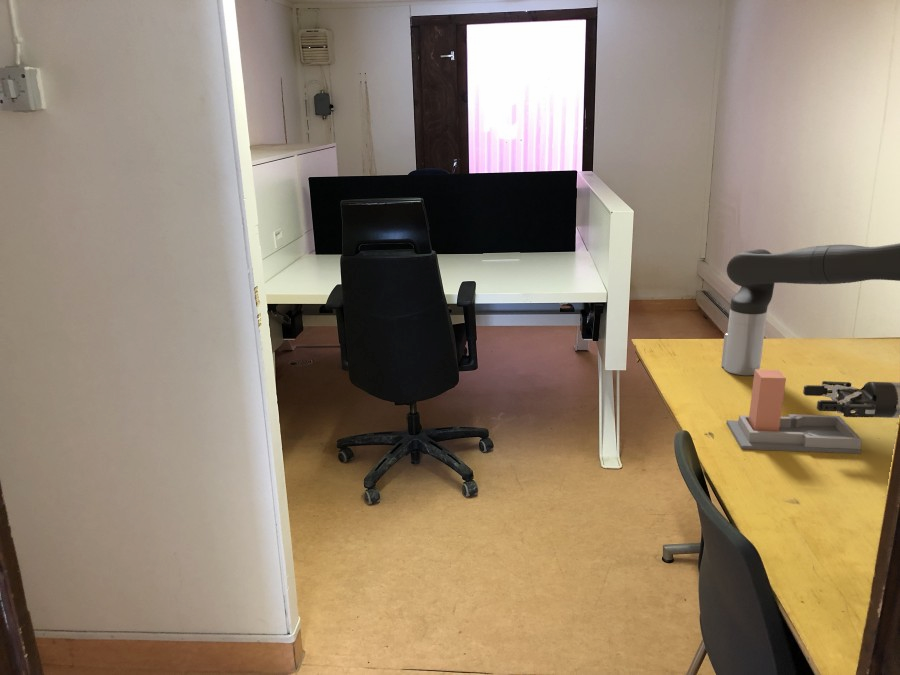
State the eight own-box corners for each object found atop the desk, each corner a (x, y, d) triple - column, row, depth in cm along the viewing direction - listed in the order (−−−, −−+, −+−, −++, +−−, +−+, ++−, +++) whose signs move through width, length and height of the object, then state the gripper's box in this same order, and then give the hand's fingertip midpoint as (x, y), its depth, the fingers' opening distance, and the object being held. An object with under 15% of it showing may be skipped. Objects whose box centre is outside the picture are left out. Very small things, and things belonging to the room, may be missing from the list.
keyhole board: (836, 427, 164) (838, 414, 163) (860, 453, 152) (862, 440, 151) (726, 423, 167) (727, 411, 166) (741, 449, 155) (742, 436, 154)
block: (753, 437, 158) (761, 377, 154) (747, 428, 163) (754, 369, 158) (777, 438, 157) (786, 378, 153) (771, 428, 162) (778, 370, 158)
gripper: (879, 371, 160) (801, 369, 162) (910, 396, 146) (825, 394, 148) (874, 403, 162) (797, 401, 164) (903, 430, 149) (820, 427, 151)
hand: (810, 397), depth 156 cm, fingers open, 8 cm apart
